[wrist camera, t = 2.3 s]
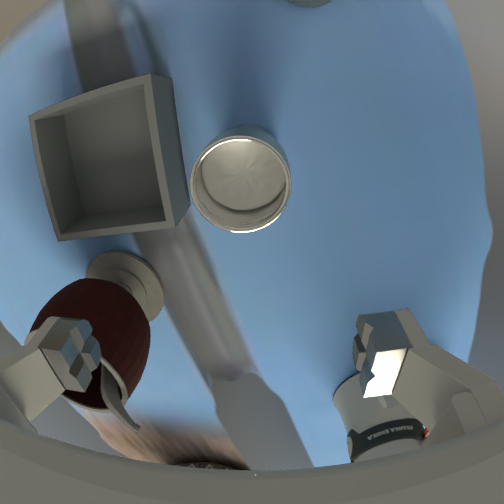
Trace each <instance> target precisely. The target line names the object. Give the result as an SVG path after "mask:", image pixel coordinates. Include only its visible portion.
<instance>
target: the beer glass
mask: <svg viewBox="0 0 504 504" xmlns="http://www.w3.org/2000/svg"><path fill="white" fill-rule="evenodd" d="M190 191H191V196H192V199H193V202H194V204H195V206H196V208H197V209H198V211H199V212H200V213H201V215H202V216H203V217H204V218H205V219H206V220H207V221H209V222H210V223H211V224H213V225H215V226H216V227H218V228H220V229H223V230H226V231H230V232H236V233H247V232H253V231H257V230H260V229H262V228H264V227H266V226H268V225H270V224H271V223H272V222H274V221H275V220H276V219H277V218H278V217H279V216H280V215H281V213H282V212H283V211H284V209H285V207H286V206H287V203H288V201H289V198H290V194H291V174H290V166H289V162H288V158H287V156H286V153H285V151H284V150H283V148H282V147H281V145H280V144H279V143H278V141H277V140H276V139H275V138H273V136H272V135H271V134H270V133H269V132H268V131H267V130H265V129H264V128H262V127H259V126H256V125H242V126H239V127H237V128H232V129H229V130H227V131H225V132H223V133H221V134H219V135H217V136H216V137H215V138H214V139H212V140H211V141H210V142H209V143H208V144H207V146H206V147H205V148H204V150H203V151H202V153H201V154H200V155H199V156H198V158H197V159H196V161H195V163H194V165H193V168H192V171H191V176H190Z"/></svg>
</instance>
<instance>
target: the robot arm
mask: <svg viewBox="0 0 504 504" xmlns="http://www.w3.org/2000/svg"><path fill="white" fill-rule="evenodd" d="M356 327H357V330H358V334H357V335H356V336H355V337H354V342H353V359H354V364H355V368H356V369H357V370H359V371H360V373H358V374H357V375H355V376H353V377H351V378H350V379H348V380H347V381H346V382H344V383H343V384H342V385H341V386H340V387H339V388H338V389H337V391H336V393H335V395H334V398H333V402H334V405H335V407H336V408H337V410H338V412H339V414H340V416H341V418H342V420H343V423H344V426H345V429H346V432H347V447H348V453H349V457H350V459H351V463H347V464H340V465H332V466H323V467H314V468H302V469H286V470H221V469H204V468H192V467H182V466H174V465H166V464H159V463H152V462H146V461H140V460H134V459H129V458H124V457H119V456H114V455H110V454H106V453H101V452H97V451H93V450H89V449H86V448H82V447H79V446H75V445H72V444H68V443H65V442H62V441H59V440H56V439H53V438H50V437H47V436H44V435H41V434H38V433H37V430H36V428H35V427H34V426H33V425H32V424H31V423H30V421H31V420H32V419H33V418H35V417H36V416H37V415H38V414H39V413H40V412H41V411H42V410H43V409H45V408H46V407H47V406H48V405H49V404H50V403H51V402H52V401H54V400H55V399H56V398H57V397H58V396H59V395H60V394H62V393H63V392H64V391H65V389H67V390H73V391H79V392H85V391H86V389H87V387H88V385H89V383H90V381H91V379H92V375H91V372H92V371H93V370H95V369H96V368H97V367H98V365H99V363H100V359H101V349H100V345H99V343H98V341H97V339H96V338H94V337H93V336H92V335H91V333H92V330H93V329H92V327H91V325H90V323H89V321H87V320H85V319H75V318H65V317H62V318H61V317H53V316H52V317H49V318H47V319H46V320H45V322H44V323H43V324H42V325H41V327H40V328H39V329H38V331H37V332H36V333H35V335H34V336H33V337H32V339H31V340H30V341H29V343H28V344H27V345H26V346H22V347H20V348H18V349H17V350H15V351H13V352H12V353H10V354H8V355H6V356H5V357H3V358H2V359H0V504H504V394H503V392H502V391H501V389H500V387H499V385H498V383H497V382H496V380H494V379H492V378H491V377H489V376H487V375H486V374H484V373H482V372H481V371H479V370H477V369H476V368H474V367H472V366H471V365H469V364H467V363H466V362H464V361H462V360H461V359H459V358H457V357H455V356H454V355H452V354H450V353H449V352H447V351H445V350H444V349H442V348H440V347H439V346H437V345H435V344H433V345H430V343H429V342H428V340H427V338H426V336H425V335H424V333H423V331H422V329H421V328H420V326H419V324H418V322H417V321H416V319H415V317H414V316H413V314H412V312H411V311H410V310H409V309H400V310H393V311H388V312H379V313H370V314H360V315H359V316H358V318H357V324H356ZM423 425H424V426H425V427H426V428H425V430H424V428H423ZM428 429H429V430H428ZM429 431H431V432H430V433H429ZM428 433H429V435H428V436H427V434H428Z"/></svg>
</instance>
